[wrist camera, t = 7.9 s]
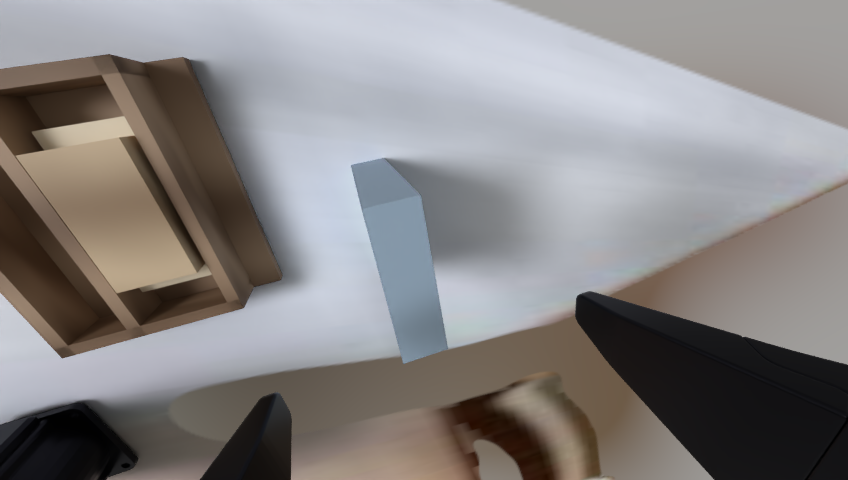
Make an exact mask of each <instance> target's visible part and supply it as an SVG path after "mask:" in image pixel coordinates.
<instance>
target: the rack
mask: <svg viewBox="0 0 848 480" xmlns="http://www.w3.org/2000/svg"><path fill="white" fill-rule="evenodd" d="M122 116H124V117H125V118H126V120H127V122H128V124H129V126H130V127H131V129H132V131H133V133H134V135H135V137H136V138H137V140H138V142H139V144H140V146H141V147H142V149H143V151H144V153H145V155H146V156H147V158H148V160H149V162H150V164H151V165H152V167H153V169H154V171H155V173H156V174H157V176H158V178H159V180H160V182H161V184H162V185H163V187H164V189H165V191H166V193H167V194H168V196H169V198H170V200H171V202H172V203H173V205H174V207H175V209H176V211H177V212H178V214H179V216H180V218H181V220H182V221H183V223H184V225H185V227H186V229H187V231H188V232H189V234H190V236H191V238H192V240H193V241H194V243H195V245H196V247H197V249H198V250H199V252H200V254H201V256H202V258H203V259H204V261H205V263H206V265H207V267H208V268H209V270H210V272H211V274H212V275H208V276H205V277H201V278H197V279H193V280H189V281H185V282H181V283H177V284H173V285H169V286H165V287H162V288H158V289H154V290H150V291H146V292H142V291H141V290H140V288H136V289H132V290H128V291H124V292H120V293H116V292H115V290H114V289H113V288H112V286H111V285H110V284H109V282H108V281H107V280H106V278H105V277H104V275H103V274H102V273H101V271H100V270H99V269H98V267H97V266H96V265H95V263H94V262H93V261H92V259H91V258H90V256H89V255H88V254H87V252H86V251H85V250H84V248H83V247H82V246H81V244H80V243H79V242H78V240H77V239H76V237H75V236H74V235H73V233H72V232H71V231H70V229H69V228H68V227H67V225H66V224H65V223H64V221H63V220H62V219H61V217H60V216H59V214H58V213H57V212H56V210H55V209H54V208H53V206H52V205H51V204H50V202H49V201H48V200H47V198H46V197H45V195H44V194H43V193H42V191H41V190H40V189H39V187H38V186H37V185H36V183H35V182H34V181H33V179H32V178H31V176H30V175H29V174H28V172H27V171H26V170H25V168H24V167H23V166H22V164H21V163H20V162H19V160H18V159H17V157H16V156H17V155H22V154H28V153H33V152H39V151H44V150H43V148H42V147H41V145H40V144H39V142H38V141H37V139H36V138H35V137H34V135H33V134H32V131H38V130H44V129H50V128H56V127H62V126H68V125H74V124H80V123H86V122H92V121H98V120H104V119H110V118H116V117H122ZM281 278H282V273H281V271H280V268H279V266H278V264H277V261H276V259H275V257H274V255H273V252H272V250H271V248H270V245H269V243H268V241H267V238H266V236H265V234H264V232H263V229H262V227H261V225H260V222H259V220H258V218H257V215H256V213H255V211H254V209H253V206H252V204H251V202H250V199H249V197H248V195H247V192H246V190H245V188H244V185H243V183H242V181H241V179H240V176H239V174H238V172H237V169H236V167H235V165H234V162H233V160H232V158H231V156H230V153H229V151H228V149H227V146H226V144H225V142H224V139H223V137H222V135H221V133H220V130H219V128H218V126H217V123H216V121H215V119H214V116H213V114H212V112H211V109H210V107H209V105H208V103H207V100H206V98H205V96H204V93H203V91H202V89H201V86H200V84H199V82H198V80H197V77H196V75H195V73H194V70H193V68H192V66H191V63H190V61H189V59H187V58H184V57H181V58H173V59H166V60H159V61H152V62H145V63H142V62H138V61H134V60H130V59H126V58H122V57H118V56H114V55H110V54H108V55H101V56H93V57H86V58H78V59H71V60H64V61H56V62H49V63H41V64H34V65H27V66H19V67H12V68H4V69H0V293H1V294H2V295H3V296H4V297H5V298H6V299H7V300H8V301H9V302H10V303H11V304H12V305H13V307H14V308H15V309H16V310H17V311H18V312H19V313H20V314H21V315H22V316H23V317H24V318H25V319H26V320H27V321H28V322H29V324H30V325H31V326H32V327H33V328H34V329H35V330H36V331H37V332H38V333H39V334H40V335H41V336H42V337H43V338H44V340H45V341H46V342H47V343H48V344H49V345H50V346H51V347H52V348H53V349H54V350H55V351H56V352H57V353H58V354H59V355H60V357H61V358H65V357H69V356H73V355H76V354H80V353H83V352H87V351H91V350H94V349H98V348H101V347H105V346H109V345H112V344H116V343H119V342H123V341H127V340H130V339H134V338H138V337H141V336H145V335H148V334H152V333H156V332H159V331H163V330H166V329H170V328H174V327H177V326H181V325H184V324H188V323H192V322H195V321H199V320H202V319H206V318H210V317H213V316H217V315H220V314H224V313H228V312H231V311H235V310H239V309H242V308H244V307H245V305H246V302H247V300H248V298H249V296H250V294H251V292H252V290H253V288H254V287H256V286H260V285H263V284H267V283H271V282H275V281H278V280H281Z"/></svg>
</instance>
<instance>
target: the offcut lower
mask: <svg viewBox="0 0 848 480" xmlns="http://www.w3.org/2000/svg"><path fill="white" fill-rule="evenodd" d="M32 134H33V135H34V137H35V138H36V139H37V141H38V142H39V144H40V145H41V147H42V148H43V150H44V151H45V150H50V149H56V148H62V147H67V146H73V145H79V144H84V143H90V142H96V141H101V140H107V139H113V138H118V137H127V136H135V135H134V133H133V131H132V129H131V127H130V126H129V124H128V122H127V120H126V118H125V117H124V116H122V117H116V118H110V119H104V120H98V121H92V122H86V123H80V124H74V125H68V126H62V127H56V128H50V129H44V130H38V131H32ZM208 275H212V274H211V272H210V270H209V268H208V267H207V265H206V263H205V264H204V266H203V267H202V268H201V269H200V270H199V271H198V273H195V274H191V275H187V276H183V277H179V278H175V279H171V280H167V281H164V282H160V283H156V284H152V285H148V286H144V287H140V290H141V291H142V292H146V291H150V290H154V289H158V288H162V287H165V286H169V285H173V284H177V283H181V282H185V281H189V280H193V279H197V278H201V277H205V276H208Z"/></svg>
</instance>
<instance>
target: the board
mask: <svg viewBox="0 0 848 480" xmlns="http://www.w3.org/2000/svg"><path fill="white" fill-rule="evenodd" d="M351 168H352V172H353V176H354V180H355V184H356V188H357V192H358V196H359V200H360V204H361V208H362V212H363V216H364V220H365V223H366V227H367V231H368V234H369V238H370V242H371V245H372V249H373V253H374V257H375V260H376V264H377V268H378V271H379V275H380V279H381V282H382V286H383V290H384V294H385V297H386V301H387V305H388V308H389V312H390V316H391V319H392V323H393V327H394V331H395V334H396V338H397V342H398V345H399V349H400V353H401V356H402V360H403V364H404V363H407V362H410V361H413V360H416V359H419V358H422V357H425V356H428V355H431V354H434V353H437V352H440V351H443V350H446V349H448V346H447V341H446V335H445V329H444V324H443V318H442V312H441V307H440V301H439V295H438V290H437V284H436V278H435V273H434V267H433V261H432V256H431V250H430V244H429V239H428V233H427V227H426V222H425V216H424V210H423V205H422V199H421V195H420V194H419V193H418V192H417V191H416V190H415V189H414V188H413V187H412V186H411V185H410V184H409V183H408V182H407V181H406V180H405V179H404V178H403V177H402V176H401V175H400V174H399V173H398V172H397V171H396V170H395V169H394V168H393V167H392V166H391V165H390V164H389V163H388V162H387V161H386V160H385V159H384V158H382V159H377V160H372V161H368V162H363V163H358V164H354V165H351Z"/></svg>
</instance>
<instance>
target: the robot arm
mask: <svg viewBox="0 0 848 480" xmlns="http://www.w3.org/2000/svg"><path fill="white" fill-rule="evenodd" d="M575 317H576V320H577V322H578V324H579V325H580V326H581V328H582V329H583V330H584V332H585V333H586V334H587V335H588V337H589V338H590V340H591V341H592V342H593V343H594V345H595V346H596V347H597V349H598V350H599V351H600V353H601V354H602V355H603V357H604V358H605V359H606V361H608V363H609V364H610V365H611V366H612V368H613V369H614V370H615V371H616V372H617V373H618V374H619V376H620V377H621V378H622V379H623V380H624V381H625V382H626V383H627V384H628V385H629V386H630V388H631V389H632V390H633V391H634V392H635V393H636V394H637V395H638V396H639V398H641V400H642V401H643V402H644V403H645V404H646V405H647V406H648V407H649V409H650V410H651V411H652V412H653V413H654V414H655V415H656V416H657V417H658V418H659V420H660V421H661V422H662V423H663V424H664V425H665V426H666V427H667V428H668V429H669V430H670V431H671V433H672V434H673V435H674V436H675V437H676V438H677V439H678V440H679V441H680V442H681V444H682V445H683V446H684V447H685V448H686V449H687V450H688V451H689V452H690V454H691V455H692V456H693V457H694V458H695V459H696V460H697V461H698V462H699V463H700V464H701V466H702V467H703V468H704V469H705V470H706V471H707V472H708V473H709V474H710V475H711V476H712V478H713V479H714V480H848V365H847V364H843V363H839V362H834V361H831V360H827V359H823V358H819V357H815V356H811V355H808V354H804V353H800V352H796V351H792V350H789V349H785V348H781V347H778V346H775V345H771V344H767V343H764V342H761V341H758V340H754V339H751V338H748V337H742V336H740V335H737V334H734V333H730V332H727V331H724V330H720V329H717V328H714V327H710V326H707V325H703V324H700V323H697V322H693V321H690V320H686V319H683V318H680V317H676V316H673V315H670V314H666V313H662V312H659V311H656V310H652V309H649V308H646V307H642V306H639V305H635V304H632V303H629V302H626V301H622V300H619V299H615V298H612V297H609V296H605V295H602V294H598V293H595V292H591V291H589V292H585V293H582V294H579V295H578V296H577V298H576V311H575ZM291 423H292V419H291V414H290V411H289V409H288V407H287V405H286V404H285V402H284V400H283V398H282V396H281V395H280V394H279V393H278V392H277V393H273V394H269V395H266V396H263V397H262V398H261V399H260V400H259V401H258V402H257V404H256V405H255V406H254V408H253V409H252V411H251V412H250V413H249V414H248V416H247V417H246V418H245V420H244V421H243V422H242V424H241V425H240V426H239V428H238V429H237V430H236V432H235V433H234V434H233V436H232V437H231V439H230V440H229V441H228V443H227V444H226V445H225V447H224V448H223V449H222V451H221V452H220V453H219V455H218V456H217V457H216V459H215V460H214V461H213V463H212V464H211V465H210V467H209V468H208V470H207V471H206V472H205V474H204V475H203V476H202V478H201V479H200V480H291V425H292V424H291ZM137 461H138V457H137V456H136V455H135V454H134V453H133V452H132V451H131V450H130V449H129V448H128V447H127V446H126V445H125V444H124V443H123V442H122V441H121V440H120V439H119V438H118V437H117V436H116V435H115V434H114V433H113V432H112V431H111V430H110V429H109V428H108V427H107V426H106V425H105V424H104V423H103V422H102V421H101V420H100V419H99V418H98V417H97V416H96V415H95V414H94V412H93V411H92V410H91V409H90V408H89V407H88V406H86V405H85V404H81V403H75V404H71V405H68V406H64V407H61V408H58V409H54V410H51V411H48V412H44V413H41V414H38V415H34V416H31V417H26V418H23V419H19V420H16V421H13V422H9V423H6V424H3V425H0V480H106V479H107V478H108V477H110V476H113V475H116V474H119V473H122V472H125V471H128V470H130V469H132V468H134V466H135V465H136V463H137Z"/></svg>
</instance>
